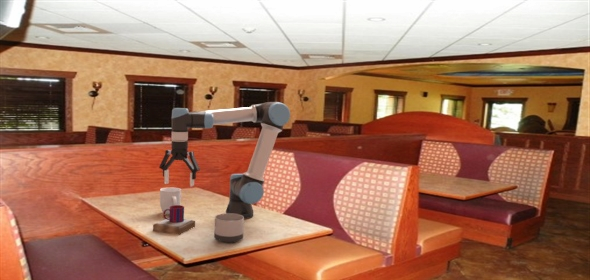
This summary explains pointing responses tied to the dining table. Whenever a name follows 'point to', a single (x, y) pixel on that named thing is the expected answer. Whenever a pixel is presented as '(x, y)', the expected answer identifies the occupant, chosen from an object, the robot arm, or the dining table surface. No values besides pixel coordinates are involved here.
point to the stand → (173, 226)
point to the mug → (169, 198)
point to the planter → (229, 227)
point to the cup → (175, 214)
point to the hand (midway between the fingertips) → (179, 184)
